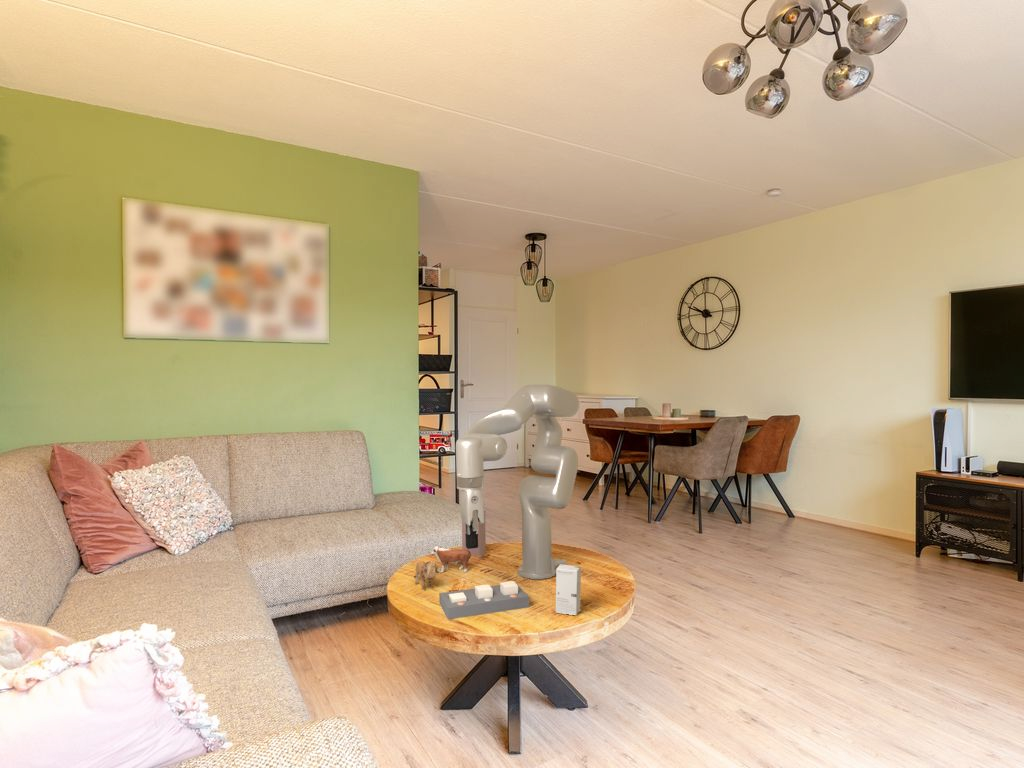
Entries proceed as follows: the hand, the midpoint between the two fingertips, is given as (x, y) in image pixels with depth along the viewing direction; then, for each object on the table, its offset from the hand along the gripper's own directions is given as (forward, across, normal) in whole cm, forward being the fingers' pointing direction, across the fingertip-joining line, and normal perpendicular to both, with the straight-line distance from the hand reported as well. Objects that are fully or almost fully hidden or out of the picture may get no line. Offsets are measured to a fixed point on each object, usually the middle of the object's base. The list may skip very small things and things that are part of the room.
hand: (471, 547), depth 157 cm
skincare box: (+17, -12, -24) cm, 32 cm away
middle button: (+15, 0, -3) cm, 15 cm away
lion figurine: (+17, +20, +10) cm, 28 cm away
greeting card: (+18, +42, -12) cm, 47 cm away
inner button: (+15, 0, -10) cm, 19 cm away
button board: (+17, 0, -3) cm, 17 cm away
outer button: (+16, -1, +5) cm, 17 cm away
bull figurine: (+17, +30, 0) cm, 35 cm away
